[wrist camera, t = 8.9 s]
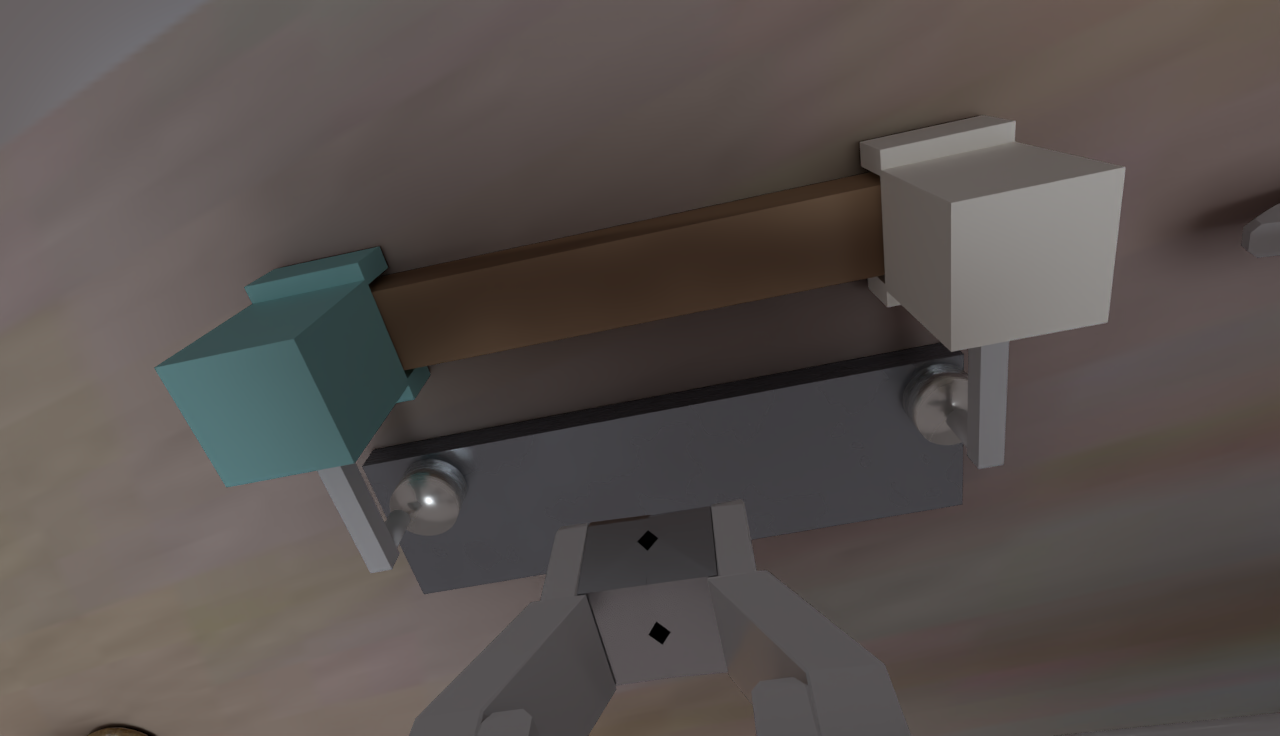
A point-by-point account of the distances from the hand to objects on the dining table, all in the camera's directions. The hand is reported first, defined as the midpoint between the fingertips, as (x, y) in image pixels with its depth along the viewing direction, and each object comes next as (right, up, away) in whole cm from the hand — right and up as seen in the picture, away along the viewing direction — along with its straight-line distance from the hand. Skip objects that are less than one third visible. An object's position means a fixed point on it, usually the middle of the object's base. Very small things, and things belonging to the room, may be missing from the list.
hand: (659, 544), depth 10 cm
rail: (-1, +7, +13) cm, 15 cm away
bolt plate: (+1, -1, +17) cm, 17 cm away
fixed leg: (+10, +6, +13) cm, 18 cm away
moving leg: (-10, +2, +15) cm, 18 cm away
